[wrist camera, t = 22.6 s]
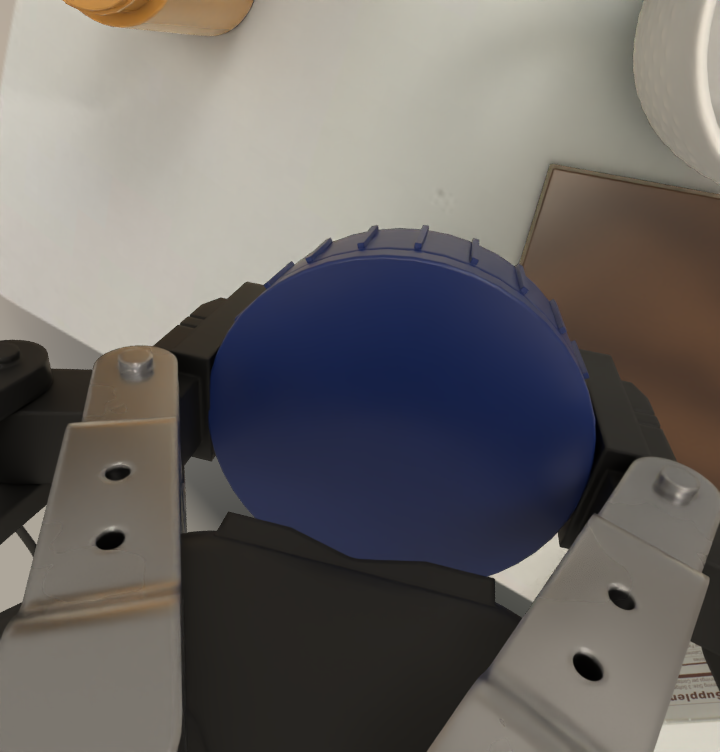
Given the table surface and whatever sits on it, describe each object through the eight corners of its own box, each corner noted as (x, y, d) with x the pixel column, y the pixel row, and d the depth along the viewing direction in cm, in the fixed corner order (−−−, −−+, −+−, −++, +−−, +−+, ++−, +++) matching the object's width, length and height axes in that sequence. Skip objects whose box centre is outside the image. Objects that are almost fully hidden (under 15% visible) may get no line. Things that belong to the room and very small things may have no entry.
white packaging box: (701, 603, 40) (779, 798, 30) (598, 617, 43) (635, 800, 32) (676, 533, 38) (753, 720, 27) (568, 553, 40) (599, 730, 30)
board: (691, 515, 37) (698, 531, 35) (458, 459, 38) (457, 472, 37) (880, 223, 26) (900, 231, 25) (550, 163, 28) (553, 167, 27)
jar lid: (455, 567, 12) (452, 639, 11) (203, 429, 12) (158, 482, 10) (663, 346, 9) (703, 400, 8) (327, 149, 9) (292, 160, 7)
